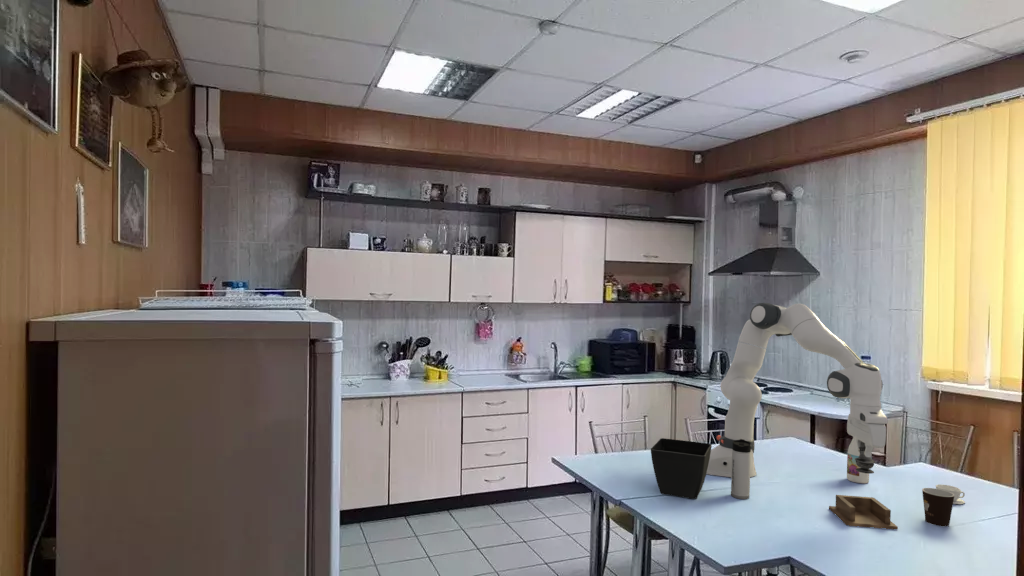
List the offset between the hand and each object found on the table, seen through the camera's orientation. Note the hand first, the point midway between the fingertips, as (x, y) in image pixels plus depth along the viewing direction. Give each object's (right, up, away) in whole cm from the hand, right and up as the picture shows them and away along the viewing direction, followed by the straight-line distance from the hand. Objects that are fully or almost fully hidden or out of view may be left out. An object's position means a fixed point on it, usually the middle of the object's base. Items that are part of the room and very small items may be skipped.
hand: (864, 454), depth 198 cm
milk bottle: (+22, -22, +41) cm, 52 cm away
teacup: (+43, -23, +22) cm, 54 cm away
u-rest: (-1, -21, 0) cm, 21 cm away
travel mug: (-34, -20, +18) cm, 44 cm away
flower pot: (-55, -20, +21) cm, 62 cm away
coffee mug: (+24, -22, 0) cm, 32 cm away
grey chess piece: (0, -6, 0) cm, 6 cm away
